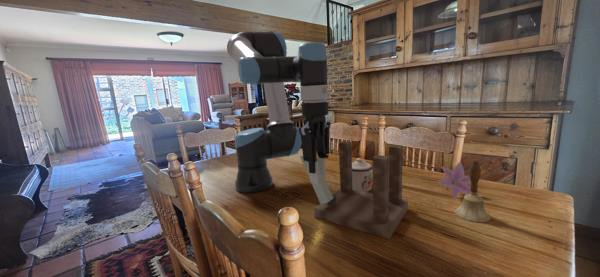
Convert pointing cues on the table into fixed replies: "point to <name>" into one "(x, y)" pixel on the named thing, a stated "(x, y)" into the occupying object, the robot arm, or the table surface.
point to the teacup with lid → (361, 175)
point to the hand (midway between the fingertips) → (318, 180)
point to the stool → (368, 195)
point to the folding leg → (319, 185)
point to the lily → (456, 180)
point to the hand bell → (473, 199)
